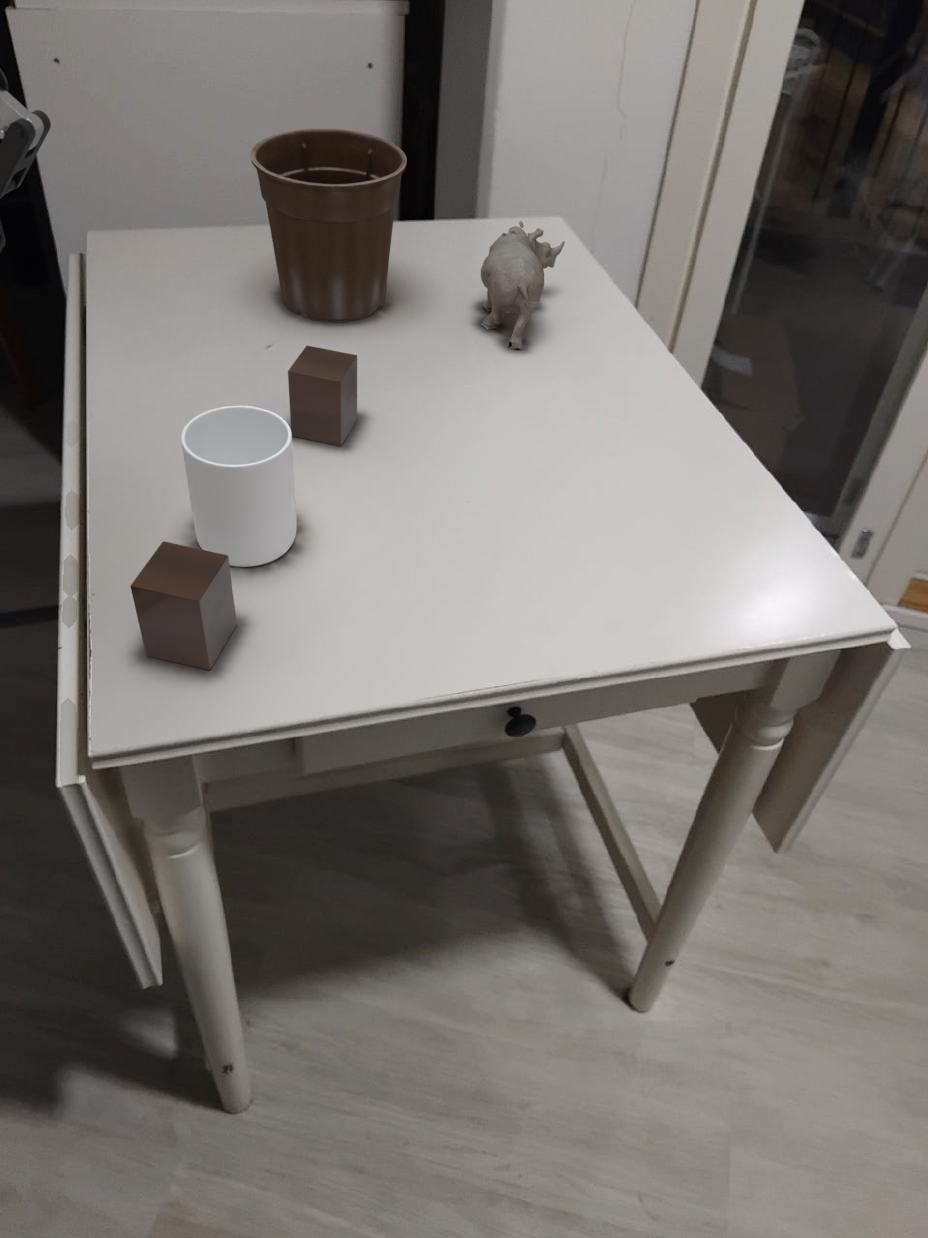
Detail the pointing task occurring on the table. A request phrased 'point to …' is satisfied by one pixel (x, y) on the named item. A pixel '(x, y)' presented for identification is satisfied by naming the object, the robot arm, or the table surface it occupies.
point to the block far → (323, 395)
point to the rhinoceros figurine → (516, 278)
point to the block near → (185, 605)
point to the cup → (241, 483)
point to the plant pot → (330, 217)
